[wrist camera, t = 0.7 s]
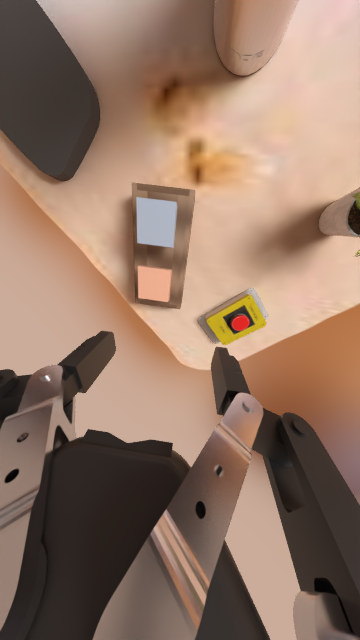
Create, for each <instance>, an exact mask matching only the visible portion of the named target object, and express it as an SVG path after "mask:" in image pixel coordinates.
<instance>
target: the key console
mask: <svg viewBox="0 0 360 640" xmlns="http://www.w3.org/2000/svg"><path fill="white" fill-rule="evenodd" d="M136 197H140V198H148V199H157V200H165V201H173V202H177V205H178V206H177V217H176V229H175V240H174V248H171V247H163V246H156V245H148V244H140V243H137V204H136ZM194 202H195V190H190V189H181V188H173V187H164V186H156V185H148V184H139V183H132V205H133V238H134V271H135V303H140V304H147V305H154V306H161V307H168V308H175V309H180V307H181V303H182V295H183V287H184V280H185V272H186V264H187V256H188V248H189V241H190V233H191V225H192V217H193V210H194ZM140 265H143V266H150V267H158V268H165V269H172V275H171V287H170V299H169V301H168V302H163V301H156V300H149V299H142V298H138V266H140Z"/></svg>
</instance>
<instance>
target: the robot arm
mask: <svg viewBox="0 0 360 640" xmlns="http://www.w3.org/2000/svg"><path fill="white" fill-rule="evenodd" d="M297 3H298V0H215V5H214V38H215V44H216V48H217V52H218V55H219V57H220V59H221V61H222V63H223V64H224V66H225V67H226V68H227V69H228V70H229V71H231V72H232V73H233V74H237V75H240V76H241V75H249V74H251V73H254V72H256V71H257V70H259V69H260V68H261V67H263V66H264V65H265V64H266V63H267V62H268V60H269V59H270V58H271V57H272V55H273V54H274V52H275V51H276V49H277V48H278V46H279V44H280V42H281V40H282V38H283V36H284V34H285V32H286V29H287V27H288V24H289V22H290V20H291V17H292V15H293V12H294V10H295V8H296V5H297ZM115 351H116V346H115V340H114V334H113V333H112V332H108V331H101V332H99V333H98V334H97V335H96V336H93V337H91V338H89V339H87V340H86V341H85V342H83V343H82V344H81V346H79V347H78V348H76V350H74V351H73V352H72V353H71V354H69V355H68V356H67V357H66V358H65V359H63V360H62V361H61V362H60V363H59V364H58V365H51V366H47V367H44V368H42V369H40V370H38V371H36V372H35V373H34V374H32V375H23V376H17V375H16V374H15V372H14V371H13V370H10V369H6V370H0V640H270V638H269V635H268V634H267V631H266V629H265V627H264V625H263V623H262V620H261V618H260V616H259V614H258V611H257V609H256V607H255V605H254V603H253V600H252V598H251V596H250V594H249V592H248V590H247V588H246V585H245V583H244V581H243V579H242V576H241V574H240V572H239V570H238V568H237V565H236V563H235V561H234V559H233V557H232V555H231V552H230V550H229V548H228V546H227V544H226V541H225V536H226V533H227V530H228V527H229V524H230V521H231V518H232V515H233V512H234V509H235V506H236V503H237V500H238V497H239V494H240V491H241V488H242V485H243V482H244V479H245V476H246V473H247V469H248V467H249V463H250V460H251V453H250V452H251V449H253V450H254V451H256V452H258V453H260V454H262V455H263V459H264V462H265V466H266V469H267V473H268V476H269V480H270V484H271V487H272V490H273V494H274V498H275V501H276V505H277V508H278V511H279V515H280V519H281V522H282V526H283V530H284V533H285V536H286V540H287V544H288V547H289V551H290V554H291V558H292V561H293V565H294V568H295V572H296V575H297V579H298V583H299V586H300V589H301V591H300V592H299V593H298V594H297V596H296V598H295V601H294V608H293V617H294V626H295V632H296V637H297V640H360V505H359V504H358V502H357V500H356V498H355V497H354V495H353V494H352V492H351V490H350V489H349V487H348V485H347V484H346V482H345V480H344V479H343V477H342V475H341V474H340V472H339V471H338V469H337V467H336V465H335V464H334V462H333V461H332V459H331V457H330V456H329V454H328V452H327V451H326V449H325V447H324V446H323V444H322V443H321V441H320V439H319V438H318V436H317V434H316V432H315V431H314V429H313V428H312V427H311V426H310V425H309V424H308V423H307V422H306V421H305V420H304V419H303V418H301V417H300V416H298V415H296V414H293V413H284V414H283V415H282V416H279V415H277V414H275V413H272V412H270V411H268V410H266V409H264V408H262V406H261V404H260V403H259V402H258V400H257V399H256V398H254V397H253V396H251V394H250V391H249V389H248V386H247V384H246V381H245V378H244V376H243V374H242V370H241V369H240V365H239V362H238V361H237V360H236V358H235V357H234V356H230V355H229V353H228V350H227V348H222V347H216V348H215V352H214V355H213V359H212V363H211V371H212V380H213V386H214V394H215V401H216V409H217V414H219V415H223V418H222V420H221V421H220V423H219V424H218V425H217V426H216V428H215V429H214V431H213V433H212V434H211V436H210V438H209V439H208V441H207V443H206V444H205V446H204V448H203V449H202V451H201V453H200V454H199V456H198V458H197V459H196V461H195V462H194V464H193V466H192V467H190V466H189V464H188V463H187V462H186V461H185V459H183V457H182V456H181V455H179V454H178V453H177V452H175V451H173V450H172V444H173V443H169V442H163V441H156V440H146V441H140V442H133V443H126V442H124V441H122V440H121V439H119V438H117V437H115V436H114V435H112V434H110V433H108V432H102V431H96V430H89V429H88V430H87V432H86V434H85V435H84V437H80V438H76V433H75V395H76V394H77V393H78V392H81V393H86V392H87V390H88V389H89V388H90V386H91V385H92V384H93V382H94V381H95V380H96V378H97V377H98V376H99V374H100V373H101V372H102V370H103V369H104V368H105V366H106V365H107V364H108V362H109V361H110V360H111V358H112V357H113V356H114V354H115Z"/></svg>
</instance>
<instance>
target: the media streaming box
mask: <svg viewBox="0 0 360 640" xmlns="http://www.w3.org/2000/svg"><path fill="white" fill-rule="evenodd" d="M99 120H100V110H99V103H98V98H97V95H96V92H95V90H94V87H93V85H92V84H91V82H90V80H89V79H88V77H87V75H86V74H85V72H84V70H83V69H82V67H81V65H80V64H79V62H78V61H77V59H76V58H75V56H74V55H73V53H72V51H71V50H70V48H69V47H68V45H67V44H66V42H65V41H64V39H63V38H62V36H61V35H60V33H59V32H58V31H57V29H56V28H55V26H54V25H53V23H52V22H51V21H50V19H49V18H48V16H47V15H46V14H45V12H44V11H43V9H42V8H41V7H40V5H39V4H38V3H37V1H36V0H0V129H1V130H2V131H3V132H4V134H5V135H6V136H7V137H8V138H9V139H10V140H11V141H12V142H13V143H14V144H15V145H16V147H17V148H18V149H19V150H20V151H21V152H22V153H23V154H24V155H25V156H26V157H27V158H28V159H29V160H30V161H31V162H33V163H34V164H35V165H36V166H37V167H38V168H39V169H40V170H41V171H43V172H44V173H46V174H48V175H50V176H52V177H54V178H55V179H58V180H61V181H66V180H69V179H71V178H72V177H73V175H74V174H75V172H76V170H77V169H78V167H79V165H80V163H81V162H82V160H83V158H84V156H85V154H86V152H87V150H88V148H89V146H90V144H91V142H92V140H93V138H94V136H95V133H96V131H97V129H98V126H99Z"/></svg>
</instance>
